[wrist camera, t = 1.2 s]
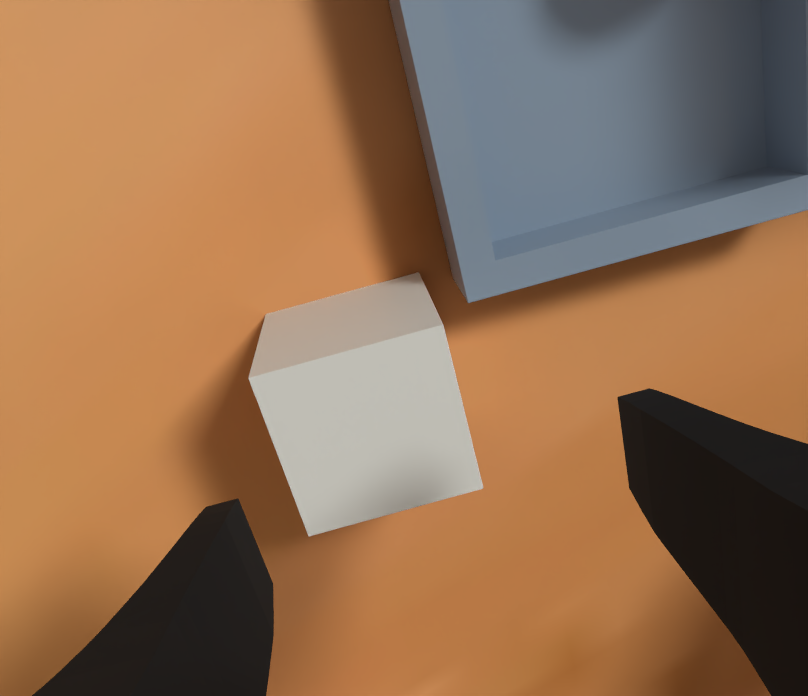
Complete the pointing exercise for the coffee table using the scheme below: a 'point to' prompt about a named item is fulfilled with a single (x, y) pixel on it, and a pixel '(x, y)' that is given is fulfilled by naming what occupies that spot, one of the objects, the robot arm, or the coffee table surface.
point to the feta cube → (364, 404)
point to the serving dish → (602, 127)
